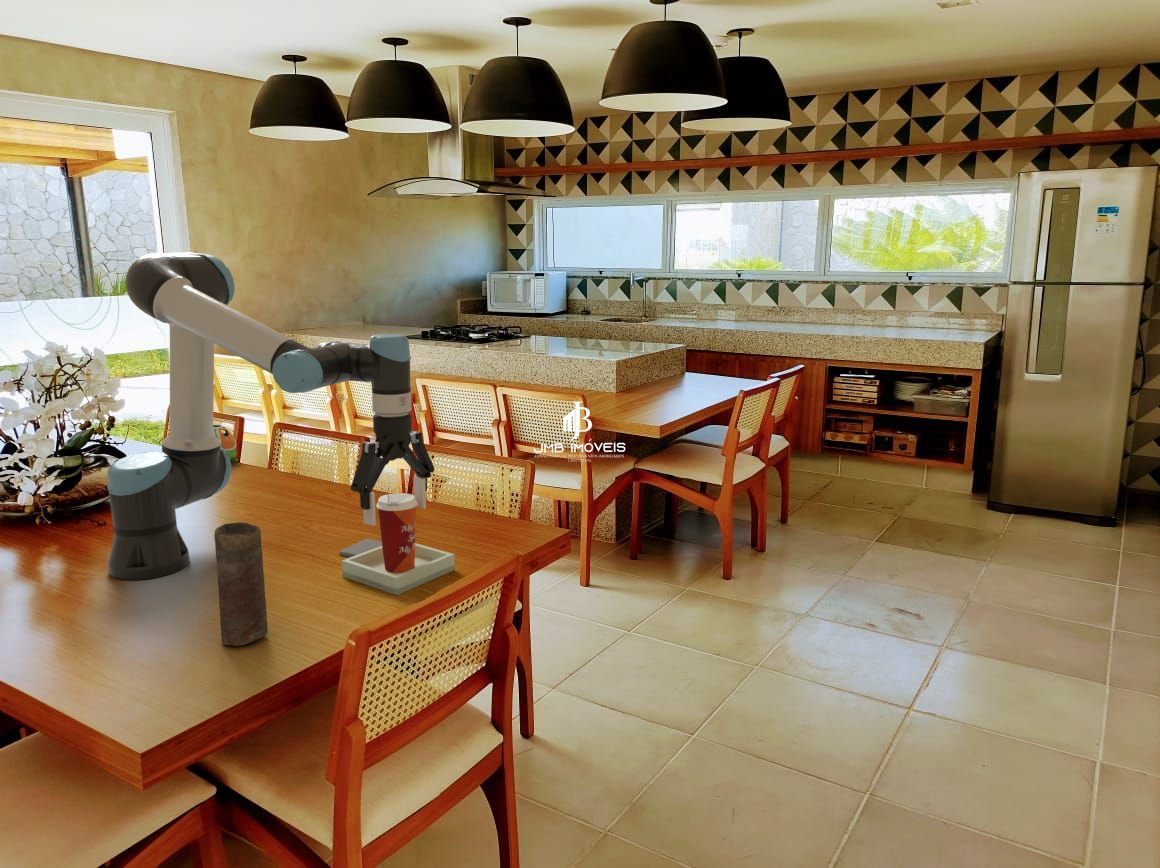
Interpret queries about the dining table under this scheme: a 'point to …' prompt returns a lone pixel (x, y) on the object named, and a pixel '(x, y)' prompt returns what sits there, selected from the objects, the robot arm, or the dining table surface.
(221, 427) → the turtle holder
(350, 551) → the slate coaster
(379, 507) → the coffee cup
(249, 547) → the grey brown tall cylinder
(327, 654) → the dining table surface
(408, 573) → the bin
